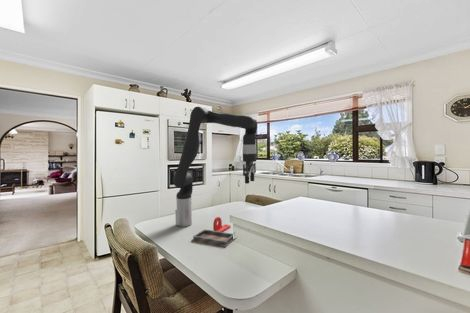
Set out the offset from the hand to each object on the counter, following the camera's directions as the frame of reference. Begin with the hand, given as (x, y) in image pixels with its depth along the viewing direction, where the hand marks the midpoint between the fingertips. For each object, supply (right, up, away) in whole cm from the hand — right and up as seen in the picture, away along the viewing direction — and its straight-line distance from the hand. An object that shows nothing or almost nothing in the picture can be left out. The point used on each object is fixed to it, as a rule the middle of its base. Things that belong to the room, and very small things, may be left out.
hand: (249, 182), depth 122 cm
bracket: (-16, -30, +9) cm, 35 cm away
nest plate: (-19, -30, -5) cm, 36 cm away
